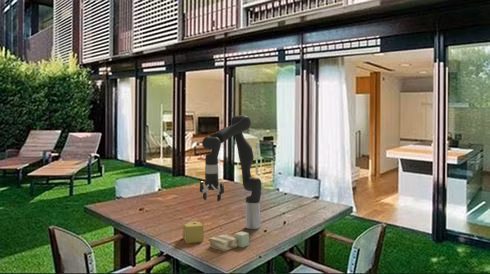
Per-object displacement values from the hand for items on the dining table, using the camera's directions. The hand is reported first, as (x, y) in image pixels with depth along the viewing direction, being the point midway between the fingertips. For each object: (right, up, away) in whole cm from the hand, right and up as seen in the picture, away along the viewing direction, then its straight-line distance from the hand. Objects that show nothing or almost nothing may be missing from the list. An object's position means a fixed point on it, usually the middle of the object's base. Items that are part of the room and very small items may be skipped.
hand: (211, 200), depth 220 cm
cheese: (-12, -25, +9) cm, 30 cm away
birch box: (+7, -26, -1) cm, 27 cm away
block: (+17, -26, +1) cm, 31 cm away
